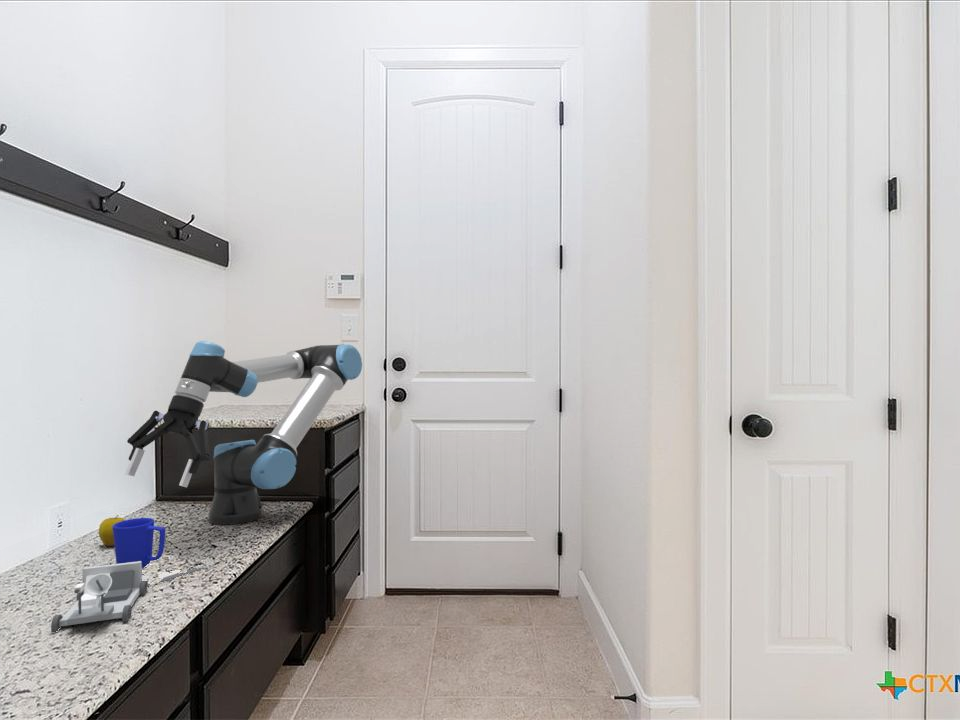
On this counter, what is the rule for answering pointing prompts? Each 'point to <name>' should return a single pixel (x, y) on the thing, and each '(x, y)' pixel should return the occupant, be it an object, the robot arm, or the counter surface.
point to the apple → (108, 530)
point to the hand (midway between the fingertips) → (156, 481)
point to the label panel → (171, 574)
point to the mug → (136, 540)
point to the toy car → (104, 594)
